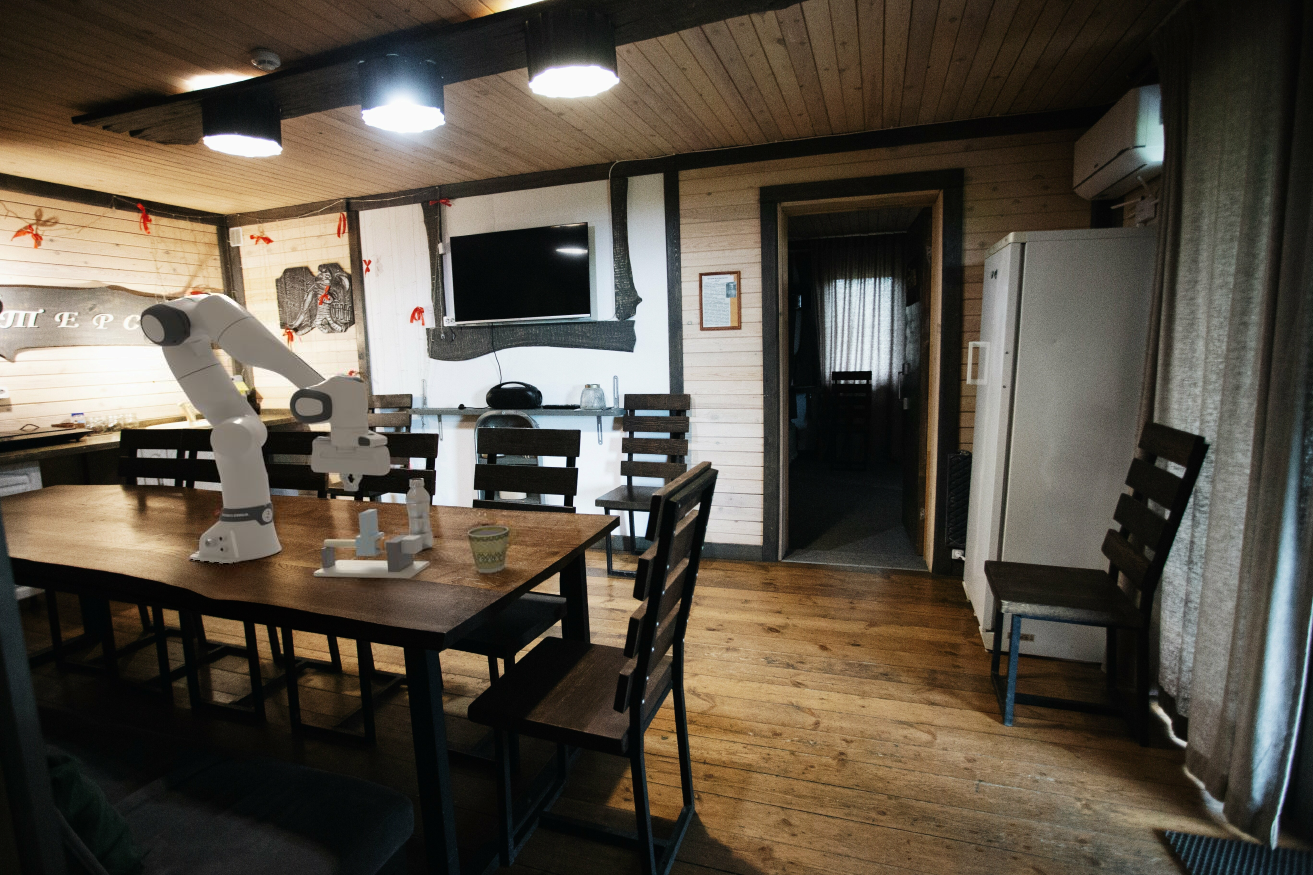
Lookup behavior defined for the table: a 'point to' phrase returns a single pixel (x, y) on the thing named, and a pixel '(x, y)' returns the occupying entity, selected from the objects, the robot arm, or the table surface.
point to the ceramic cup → (490, 547)
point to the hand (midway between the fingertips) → (351, 490)
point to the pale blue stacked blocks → (368, 534)
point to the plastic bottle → (419, 512)
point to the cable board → (394, 567)
